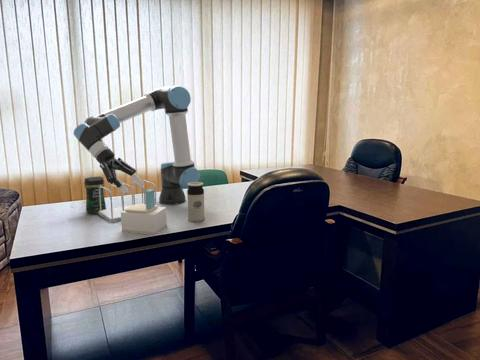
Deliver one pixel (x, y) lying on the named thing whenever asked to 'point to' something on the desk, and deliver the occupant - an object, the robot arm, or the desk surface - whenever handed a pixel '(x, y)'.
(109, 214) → the file sorter
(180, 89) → the robot arm
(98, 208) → the coffee jar
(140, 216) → the carton
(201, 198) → the dark labelled jar
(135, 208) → the flap
